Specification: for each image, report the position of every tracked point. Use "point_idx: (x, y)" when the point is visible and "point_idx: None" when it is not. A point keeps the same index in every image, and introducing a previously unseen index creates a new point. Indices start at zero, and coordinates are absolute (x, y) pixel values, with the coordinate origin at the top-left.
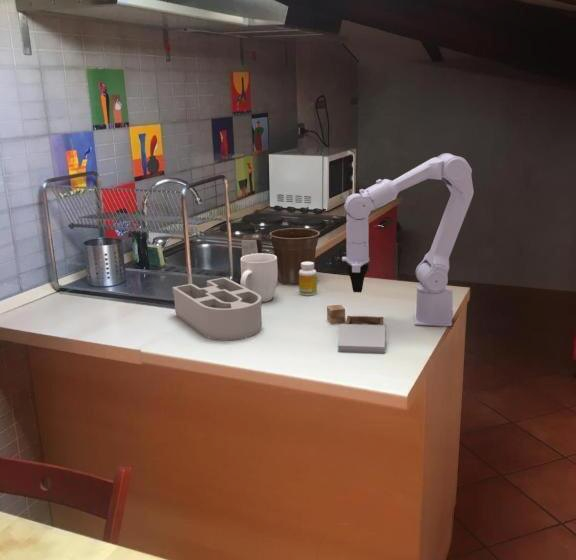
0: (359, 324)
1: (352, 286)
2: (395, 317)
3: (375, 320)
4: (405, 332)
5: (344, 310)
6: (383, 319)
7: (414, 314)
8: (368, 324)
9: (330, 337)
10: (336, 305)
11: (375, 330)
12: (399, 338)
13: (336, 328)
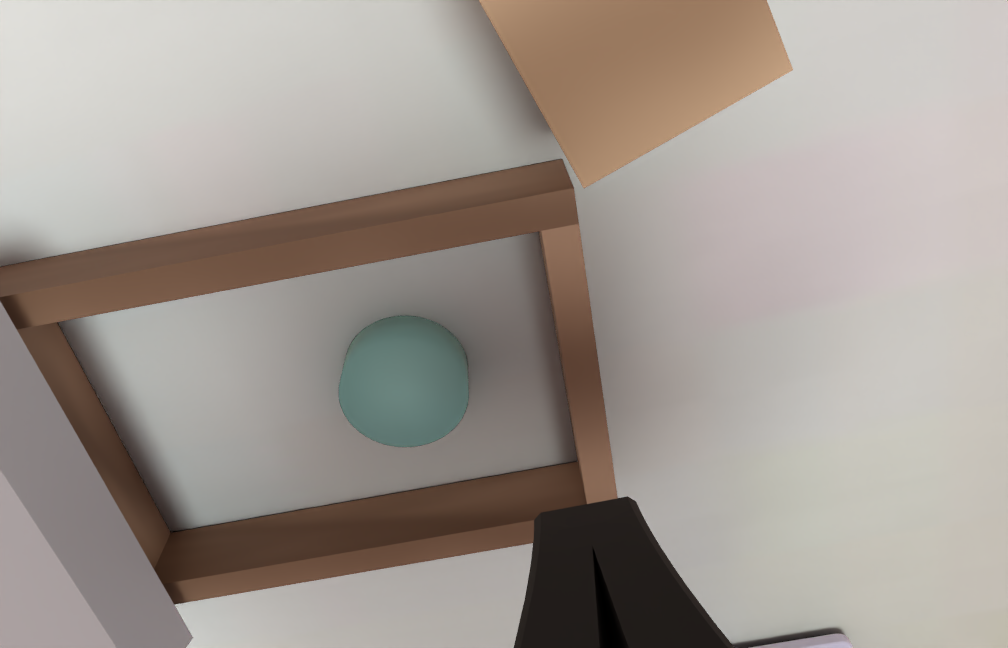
0: (419, 344)
1: (526, 599)
2: (793, 523)
3: (577, 452)
4: (456, 638)
5: (578, 174)
6: None
7: (832, 644)
8: (448, 420)
9: (33, 98)
10: (736, 6)
11: (46, 626)
12: (316, 629)
13: (343, 82)
